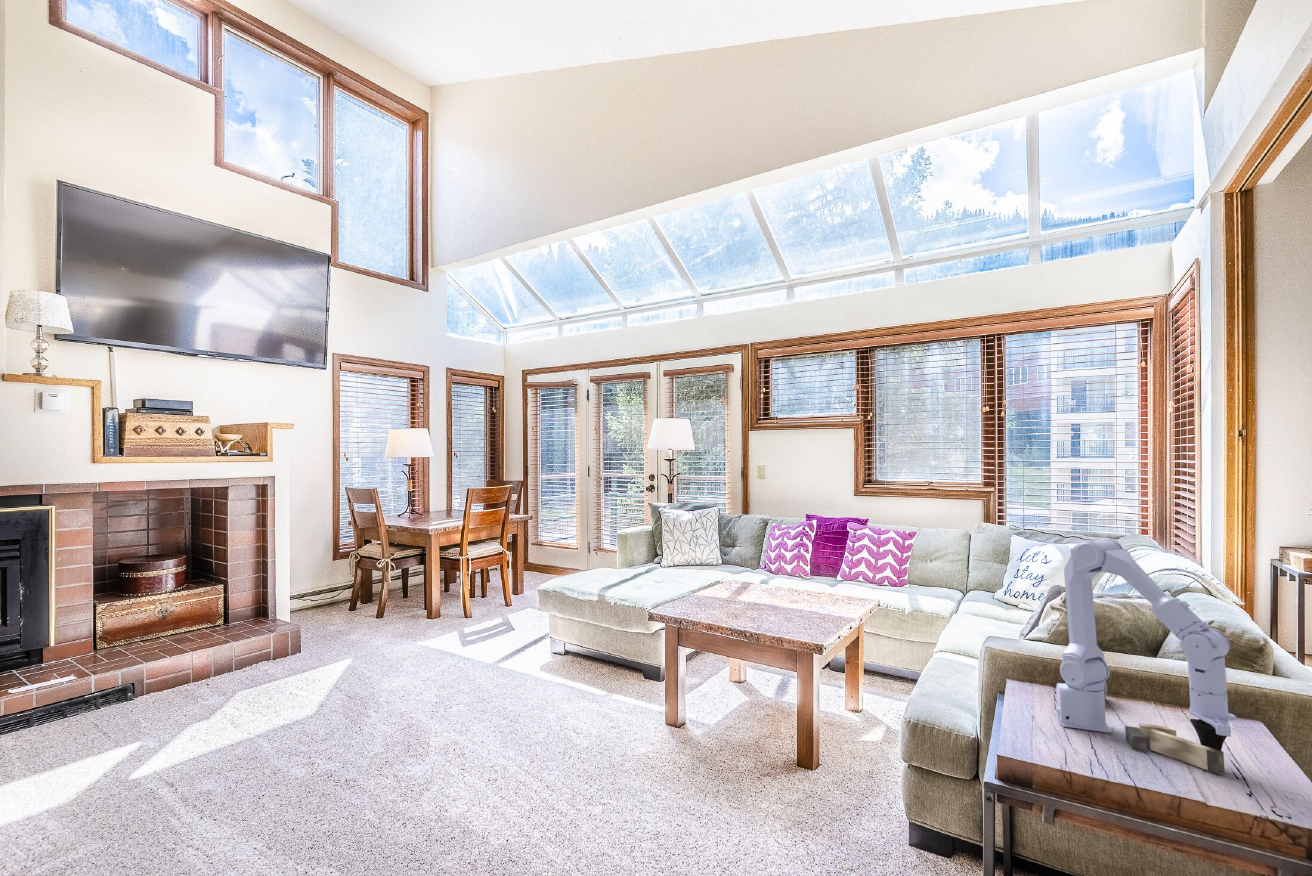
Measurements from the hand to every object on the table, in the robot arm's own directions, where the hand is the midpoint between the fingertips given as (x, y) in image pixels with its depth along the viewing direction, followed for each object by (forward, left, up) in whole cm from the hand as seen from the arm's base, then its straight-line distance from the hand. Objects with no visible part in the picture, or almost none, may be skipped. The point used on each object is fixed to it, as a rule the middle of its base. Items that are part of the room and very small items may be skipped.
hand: (1211, 759), depth 123 cm
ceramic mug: (-16, +35, -2) cm, 38 cm away
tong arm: (-4, 0, -1) cm, 4 cm away
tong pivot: (-8, +6, -2) cm, 10 cm away
